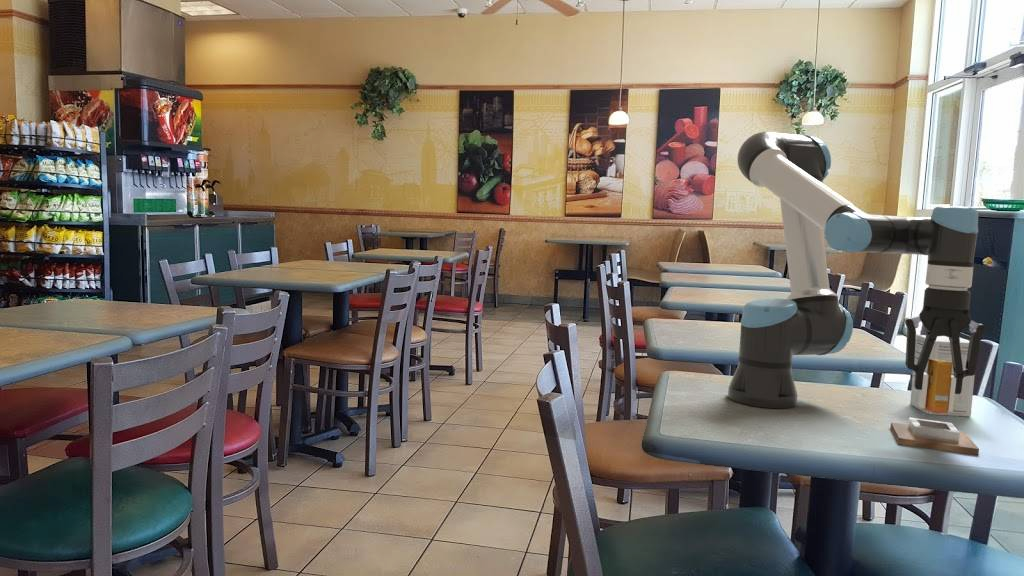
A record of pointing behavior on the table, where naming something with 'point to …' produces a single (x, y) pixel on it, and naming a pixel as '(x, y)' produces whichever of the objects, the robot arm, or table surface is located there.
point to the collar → (933, 430)
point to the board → (933, 441)
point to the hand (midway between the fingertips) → (935, 407)
